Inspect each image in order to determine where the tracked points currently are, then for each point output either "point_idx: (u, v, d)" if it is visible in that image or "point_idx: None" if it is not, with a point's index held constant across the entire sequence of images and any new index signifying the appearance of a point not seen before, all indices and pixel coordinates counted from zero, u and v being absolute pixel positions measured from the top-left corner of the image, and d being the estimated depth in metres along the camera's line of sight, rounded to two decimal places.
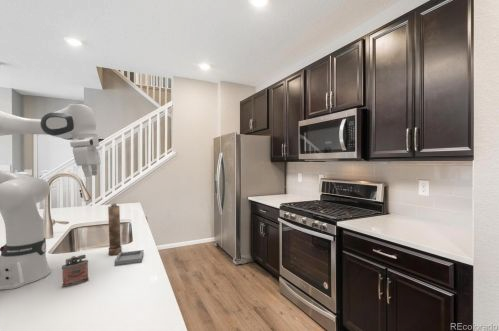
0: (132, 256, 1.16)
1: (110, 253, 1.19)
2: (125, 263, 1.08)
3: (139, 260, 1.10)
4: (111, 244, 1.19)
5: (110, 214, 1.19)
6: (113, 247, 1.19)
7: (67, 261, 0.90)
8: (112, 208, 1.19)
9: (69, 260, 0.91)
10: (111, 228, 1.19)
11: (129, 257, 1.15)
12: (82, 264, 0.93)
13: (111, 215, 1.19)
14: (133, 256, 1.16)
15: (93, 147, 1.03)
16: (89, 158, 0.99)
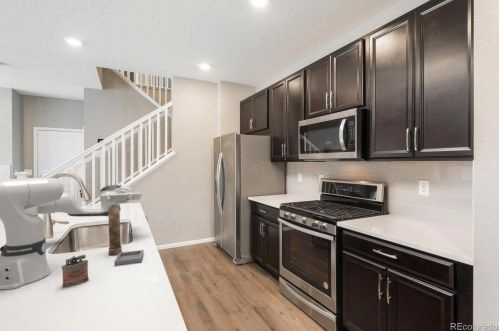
0: (132, 256, 1.16)
1: (110, 253, 1.19)
2: (125, 263, 1.08)
3: (139, 260, 1.10)
4: (111, 244, 1.19)
5: (110, 214, 1.19)
6: (113, 247, 1.19)
7: (67, 261, 0.90)
8: (112, 208, 1.19)
9: (69, 260, 0.91)
10: (111, 228, 1.19)
11: (129, 257, 1.15)
12: (82, 264, 0.93)
13: (111, 215, 1.19)
14: (133, 256, 1.16)
15: None
16: (110, 194, 1.38)
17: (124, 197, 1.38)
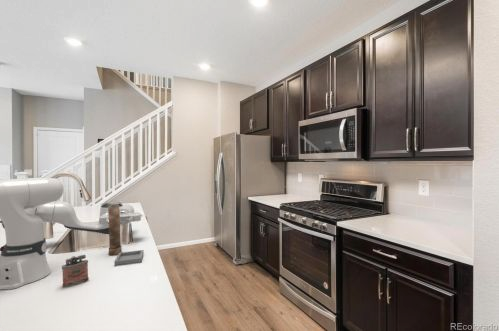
0: (132, 256, 1.16)
1: (110, 253, 1.19)
2: (125, 263, 1.08)
3: (139, 260, 1.10)
4: (111, 244, 1.19)
5: (110, 214, 1.19)
6: (113, 247, 1.19)
7: (67, 261, 0.90)
8: (112, 208, 1.19)
9: (69, 260, 0.91)
10: (111, 228, 1.19)
11: (129, 257, 1.15)
12: (82, 264, 0.93)
13: (111, 215, 1.19)
14: (133, 256, 1.16)
15: None
16: None
17: (124, 219, 1.35)
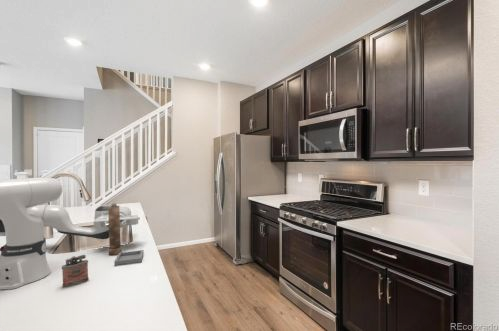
0: (132, 256, 1.16)
1: (110, 253, 1.19)
2: (125, 263, 1.08)
3: (139, 260, 1.10)
4: (111, 244, 1.19)
5: (110, 214, 1.19)
6: (113, 247, 1.19)
7: (67, 261, 0.90)
8: (112, 208, 1.19)
9: (69, 260, 0.91)
10: (111, 228, 1.19)
11: (129, 257, 1.15)
12: (82, 264, 0.93)
13: (111, 215, 1.19)
14: (133, 256, 1.16)
15: None
16: (105, 219, 1.26)
17: None
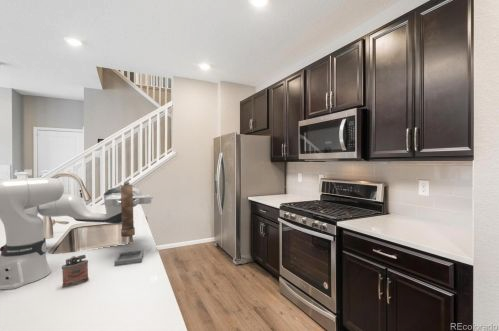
0: (132, 256, 1.16)
1: (123, 234, 1.12)
2: (125, 263, 1.08)
3: (139, 260, 1.10)
4: (124, 225, 1.12)
5: (123, 193, 1.12)
6: (126, 228, 1.13)
7: (67, 261, 0.90)
8: (125, 186, 1.12)
9: (69, 260, 0.91)
10: (124, 208, 1.12)
11: (129, 257, 1.15)
12: (82, 264, 0.93)
13: (124, 193, 1.12)
14: (133, 256, 1.16)
15: None
16: (116, 197, 1.19)
17: None
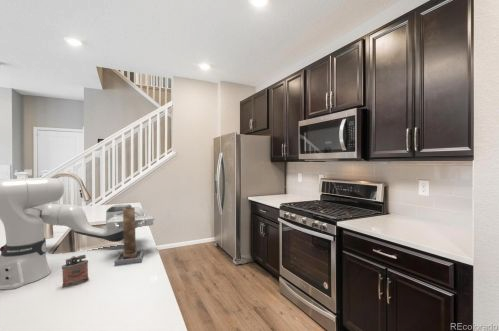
0: None
1: (125, 258, 1.11)
2: (125, 263, 1.08)
3: (139, 260, 1.10)
4: (126, 249, 1.11)
5: (125, 216, 1.11)
6: (128, 252, 1.11)
7: (67, 261, 0.90)
8: (127, 210, 1.11)
9: (69, 260, 0.91)
10: (126, 232, 1.11)
11: None
12: (82, 264, 0.93)
13: (126, 217, 1.11)
14: None
15: None
16: (118, 219, 1.18)
17: None
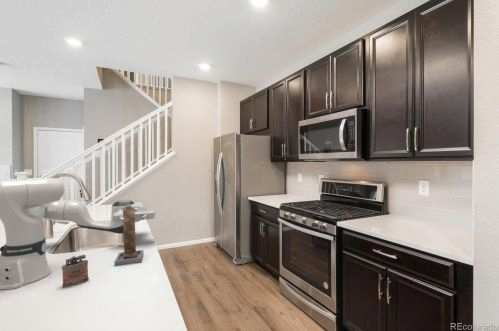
0: None
1: (125, 258, 1.11)
2: (125, 263, 1.08)
3: (139, 260, 1.10)
4: (126, 249, 1.11)
5: (125, 216, 1.11)
6: (128, 252, 1.11)
7: (67, 261, 0.90)
8: (127, 210, 1.11)
9: (69, 260, 0.91)
10: (126, 232, 1.11)
11: None
12: (82, 264, 0.93)
13: (126, 217, 1.11)
14: None
15: None
16: None
17: (138, 216, 1.31)
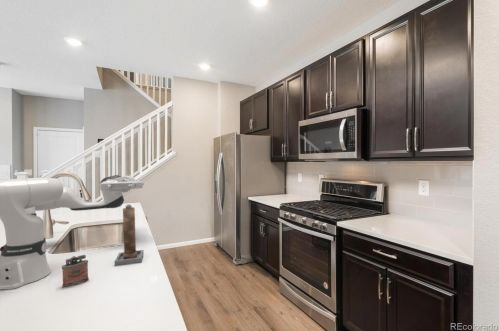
0: None
1: (125, 258, 1.11)
2: (125, 263, 1.08)
3: (139, 260, 1.10)
4: (126, 249, 1.11)
5: (125, 216, 1.11)
6: (128, 252, 1.11)
7: (67, 261, 0.90)
8: (127, 210, 1.11)
9: (69, 260, 0.91)
10: (126, 232, 1.11)
11: None
12: (82, 264, 0.93)
13: (126, 217, 1.11)
14: None
15: (120, 179, 1.37)
16: (111, 182, 1.31)
17: (125, 186, 1.32)
